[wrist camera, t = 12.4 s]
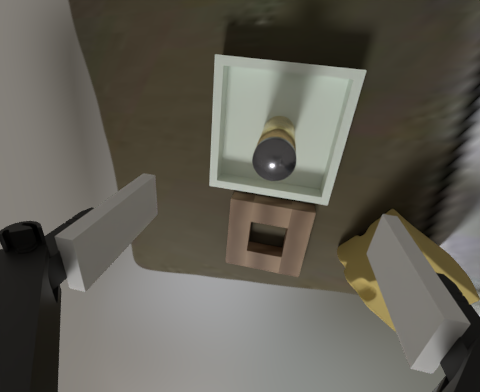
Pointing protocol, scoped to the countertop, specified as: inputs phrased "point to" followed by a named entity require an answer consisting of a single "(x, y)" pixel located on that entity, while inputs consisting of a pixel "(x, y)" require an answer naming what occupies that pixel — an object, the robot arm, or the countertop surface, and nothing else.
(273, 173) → the brown and black cylinder
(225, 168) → the tray
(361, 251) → the cheese
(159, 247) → the countertop surface
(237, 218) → the pin block
